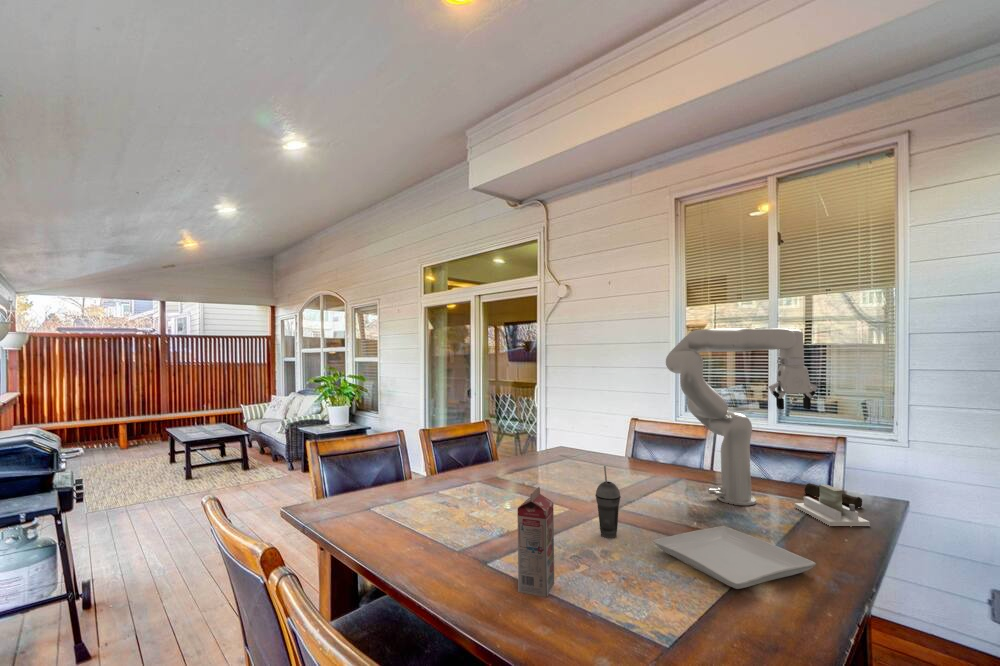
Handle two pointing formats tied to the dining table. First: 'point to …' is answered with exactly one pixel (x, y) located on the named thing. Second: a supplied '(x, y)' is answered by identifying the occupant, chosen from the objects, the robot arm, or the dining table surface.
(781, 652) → the dining table surface
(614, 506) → the beverage cup
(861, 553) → the dining table surface
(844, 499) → the hand tool
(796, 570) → the square plate
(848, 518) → the slider channel
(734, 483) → the robot arm
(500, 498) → the dining table surface
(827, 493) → the rectangular block
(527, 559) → the juice carton
